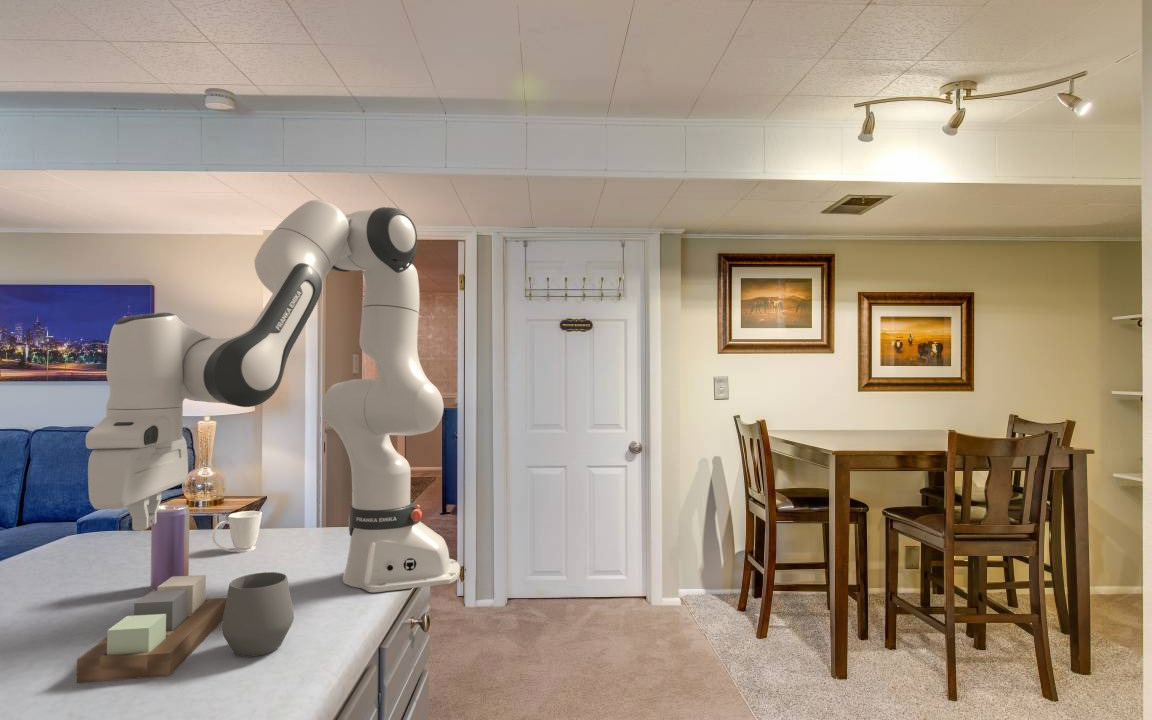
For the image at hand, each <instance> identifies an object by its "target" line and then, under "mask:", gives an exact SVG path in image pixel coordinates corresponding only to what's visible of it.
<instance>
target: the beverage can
mask: <svg viewBox="0 0 1152 720" xmlns="http://www.w3.org/2000/svg"><path fill="white" fill-rule="evenodd" d="M190 513H191V512H190V509H189V505H188V504H185V503H173V504H172V503H171V504H166V505H159V508H158V511H157V515H156V524H155V525H153V526H151V533H150V534H151V536H150V537H151V538H150V539H151V542H150V543H151V544H150V547H151V548H150V550H151V551H150V589H151V590H152V591H157V588H158V586H160V585H161V584H162V583H164V582H165V581H167V580H168V579H169V578H171V577H174V576H190V573H189V568H190V567H189V566H190V564H189V563H190V562H189V560H190Z"/></svg>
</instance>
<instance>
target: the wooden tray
mask: <svg viewBox="0 0 1152 720" xmlns="http://www.w3.org/2000/svg"><path fill="white" fill-rule="evenodd" d="M226 599H227V597H217V598H216V597H215V598H205V603H204V604H203V605H201V606H200V607H199V608H198V609H197V610H196V611H195V612H194V613H187V619H186V620H185V621H184V622H183V623H181V624H180V625H179V626H178V627H177V628H176V629H175V630H174V631H168V632H166V638H165V639H164V640H163V641H162V642H161V643H160V644H159V645H158V646H156V647H155V648H154V649H153V650H152V651H151V652H147V653H132V654H117V655H107V636H105V638H104V639H102V640H100V642H98V643H97V644H95V645H94V646H93V647H92V648H90V649H89V650H87V651H86V652H84V653H83V654H82V655H81V656H79V657H78V658H77V659H76V683H89V682H90V683H91V682H103V681H104V682H105V681H117V680H131V679H143V678H144V679H145V678H160V677H170V676H171V675H172V673H174V672H175V671H176V670H177V668H178V667H180V665H181V664H183V663H184V661H186V659H187V658H188V657H189V656H190V655H191V654H192V653H193V652H194V651H195V650H196V649H197V648H198V647H199V646H200V645H201V644H202V643H203V642H204V640H205V639H206V638H207V637H208V636H210V634H211V633H212V632H213V631H214V630H216V628H217V627H218V626H219V625H221V624H222V619H223V614H224V609H225V604H226Z"/></svg>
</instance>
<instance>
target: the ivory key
mask: <svg viewBox="0 0 1152 720" xmlns="http://www.w3.org/2000/svg"><path fill="white" fill-rule="evenodd" d="M206 579H207V578H206V574H201V575H197V574H196V575H189V576H174V577H171V578H169V579H168V580H167V581H165V582H164V583H162V584H161V585H160V586H158V588H157V591H168V590H187V613H194V612H195V611H196V610H197V609H198V608H199V607H200V606H201V605H203V604H204V603H205V599H206V586H207V585H206V582H207V581H206Z"/></svg>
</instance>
